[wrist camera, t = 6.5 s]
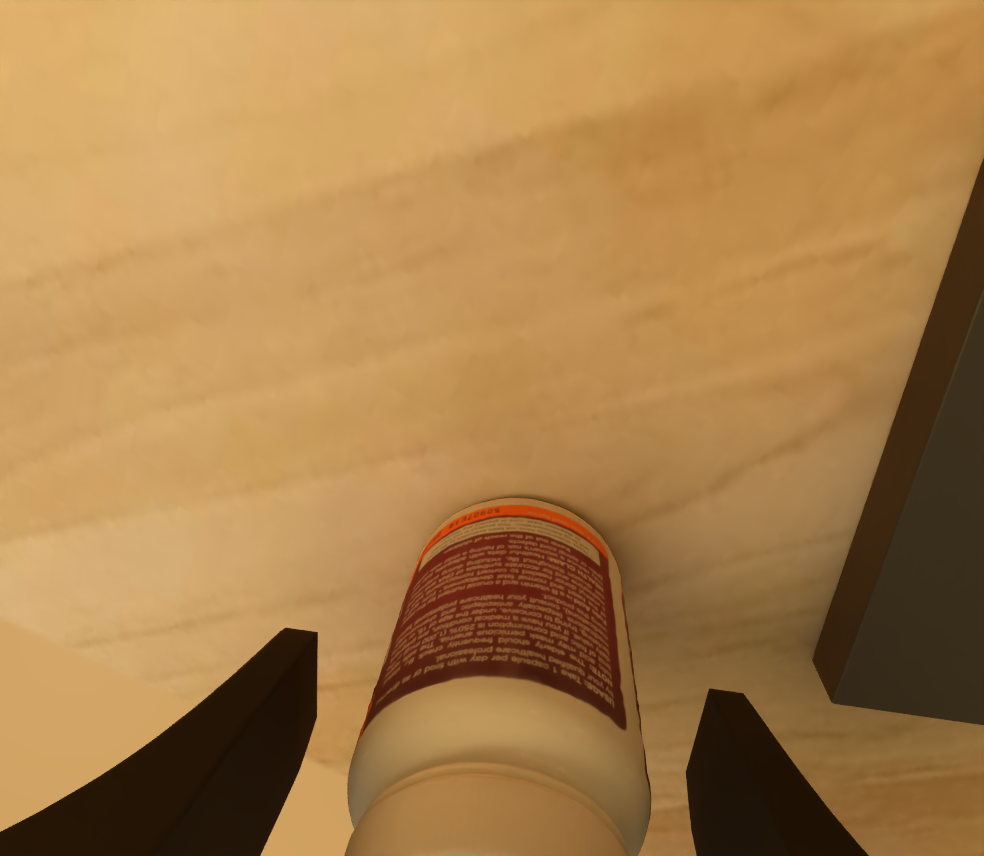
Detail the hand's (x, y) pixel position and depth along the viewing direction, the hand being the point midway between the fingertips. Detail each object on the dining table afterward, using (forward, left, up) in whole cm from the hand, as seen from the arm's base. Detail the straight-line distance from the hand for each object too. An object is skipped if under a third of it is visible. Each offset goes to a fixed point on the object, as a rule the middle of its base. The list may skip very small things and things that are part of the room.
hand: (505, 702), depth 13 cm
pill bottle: (0, 0, -4) cm, 4 cm away
